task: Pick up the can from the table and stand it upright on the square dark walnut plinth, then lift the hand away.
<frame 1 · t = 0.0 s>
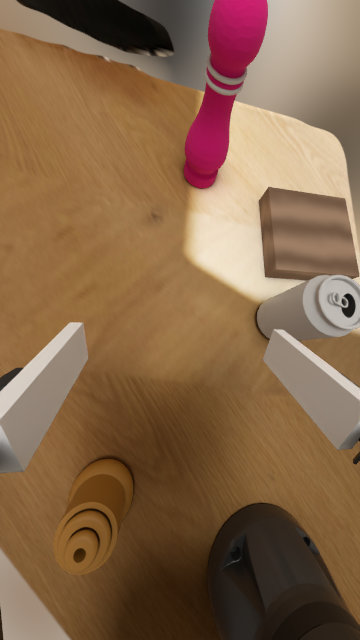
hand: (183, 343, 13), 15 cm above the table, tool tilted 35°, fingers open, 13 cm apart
ornamental finial: (105, 486, 23), on the table
walnut plinth: (300, 241, 35), on the table
can: (273, 320, 31), on the table
pepper mill: (199, 175, 35), on the table
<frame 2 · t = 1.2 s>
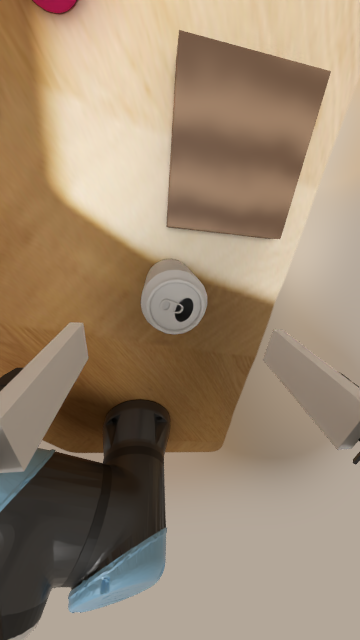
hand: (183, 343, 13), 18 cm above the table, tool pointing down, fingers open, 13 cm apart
walnut plinth: (231, 165, 24), on the table
can: (169, 282, 29), on the table
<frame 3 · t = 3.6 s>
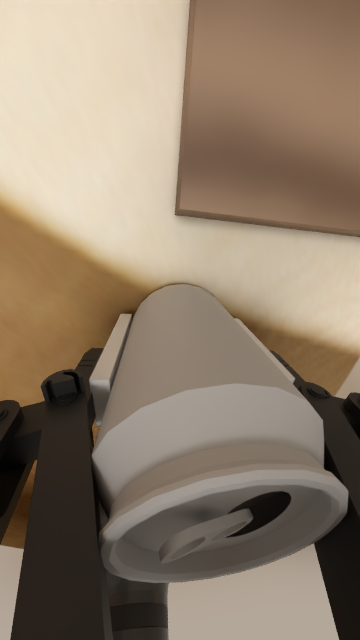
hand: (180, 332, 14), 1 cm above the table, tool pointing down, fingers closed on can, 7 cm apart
walnut plinth: (341, 55, 9), on the table
can: (178, 324, 15), on the table, touching gripper
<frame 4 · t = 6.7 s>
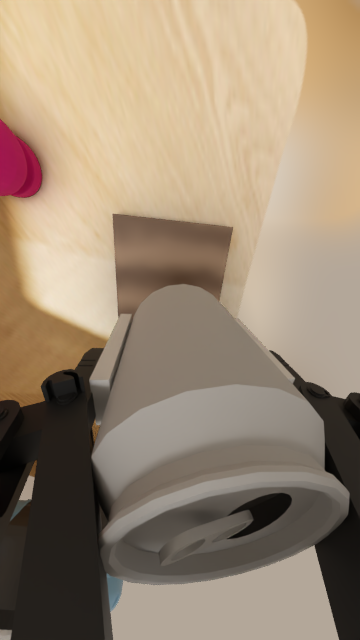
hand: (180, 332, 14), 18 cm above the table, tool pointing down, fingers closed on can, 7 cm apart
walnut plinth: (170, 277, 30), on the table
can: (178, 324, 15), point 16 cm above the table, touching gripper
pepper mill: (15, 167, 22), on the table
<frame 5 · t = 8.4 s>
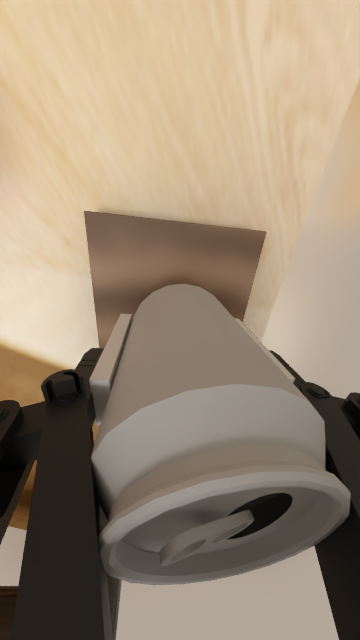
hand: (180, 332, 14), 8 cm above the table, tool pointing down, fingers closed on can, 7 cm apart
walnut plinth: (172, 298, 22), on the table
can: (178, 324, 15), point 7 cm above the table, touching gripper
when the fingers open (6 cm above the table, at t = 9.8 s): can drops 1 cm, resting on walnut plinth.
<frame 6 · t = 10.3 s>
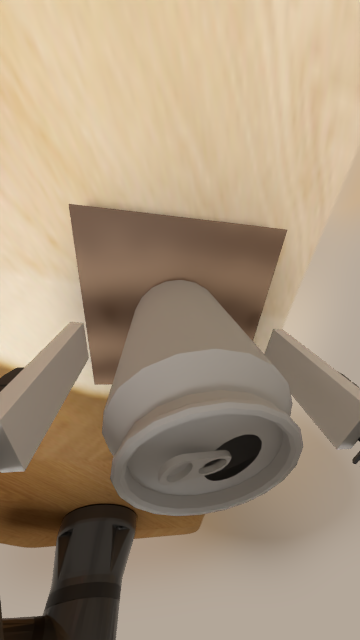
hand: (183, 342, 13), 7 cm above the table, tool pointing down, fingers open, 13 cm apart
walnut plinth: (174, 306, 19), on the table
can: (176, 317, 16), point 3 cm above the table, touching walnut plinth
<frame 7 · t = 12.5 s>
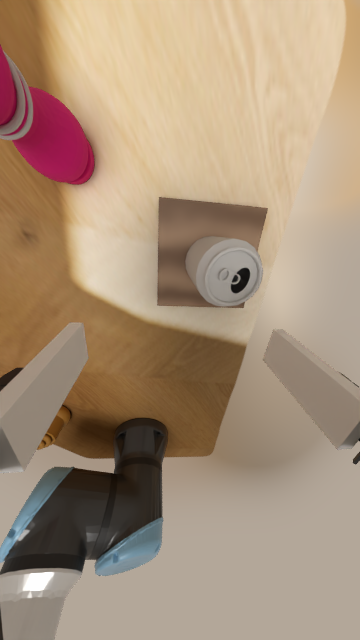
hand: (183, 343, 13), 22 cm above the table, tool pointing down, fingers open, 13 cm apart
ornamental finial: (56, 411, 45), on the table
walnut plinth: (203, 258, 32), on the table
can: (207, 261, 29), point 3 cm above the table, touching walnut plinth
pepper mill: (70, 156, 24), on the table
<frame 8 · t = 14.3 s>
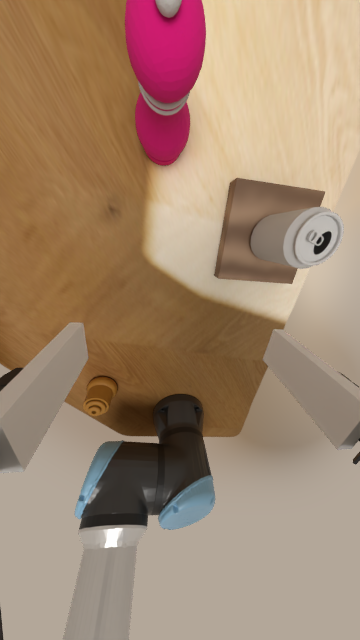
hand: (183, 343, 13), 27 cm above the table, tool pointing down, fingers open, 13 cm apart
ornamental finial: (103, 385, 48), on the table
walnut plinth: (259, 237, 36), on the table
can: (267, 238, 33), point 3 cm above the table, touching walnut plinth
pepper mill: (162, 140, 28), on the table
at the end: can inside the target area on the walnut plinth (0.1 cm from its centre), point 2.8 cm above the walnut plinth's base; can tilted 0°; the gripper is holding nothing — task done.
